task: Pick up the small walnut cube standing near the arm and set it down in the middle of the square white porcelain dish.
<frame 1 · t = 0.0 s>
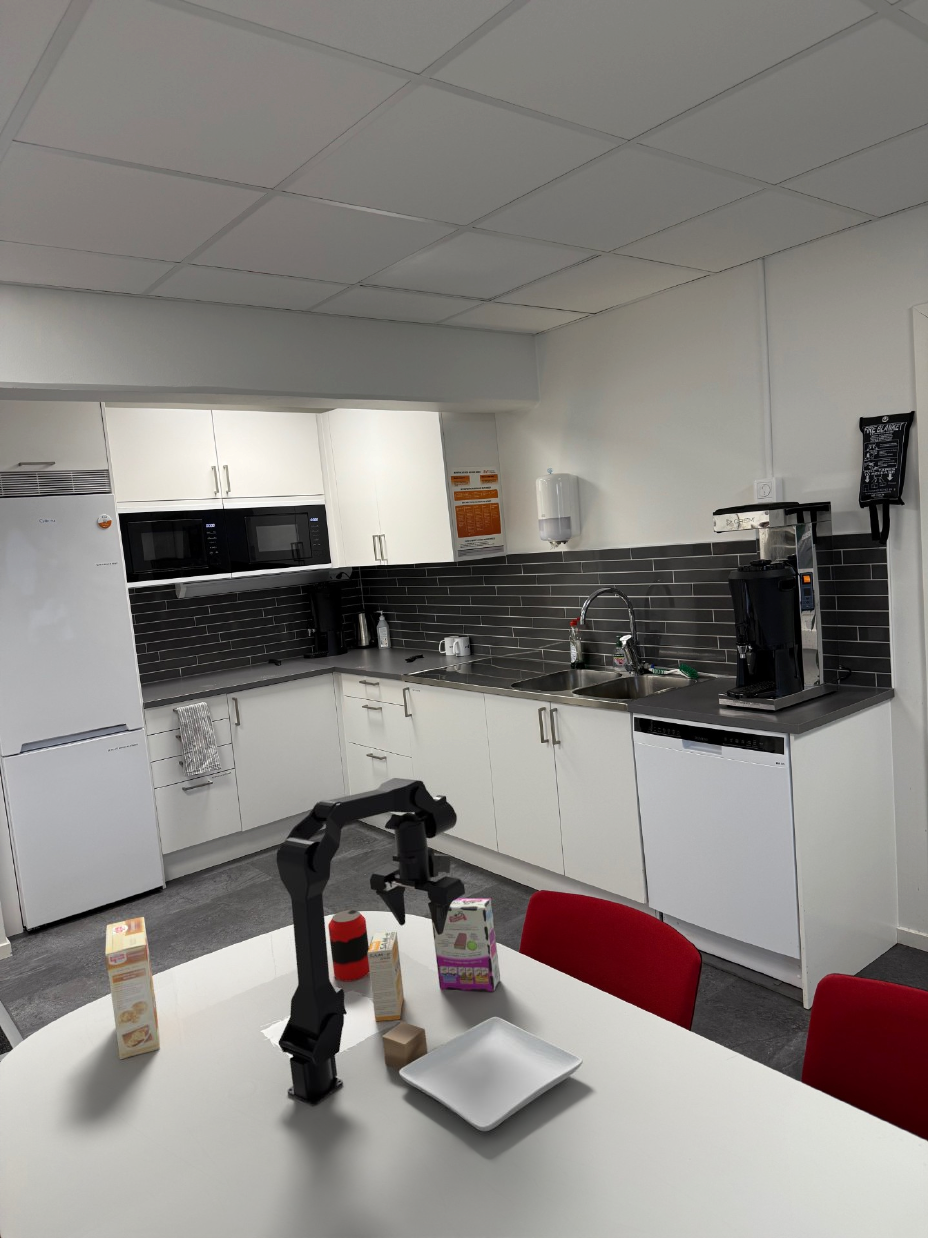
hand: (421, 929, 159), 15 cm above the table, tool pointing down, fingers open, 9 cm apart
soda can: (353, 973, 176), on the table
supplement box: (390, 1010, 160), on the table
salad plate: (491, 1086, 135), on the table
walnut cube: (406, 1061, 143), on the table
coffeecake box: (139, 1036, 161), on the table
candy bar box: (470, 986, 166), on the table
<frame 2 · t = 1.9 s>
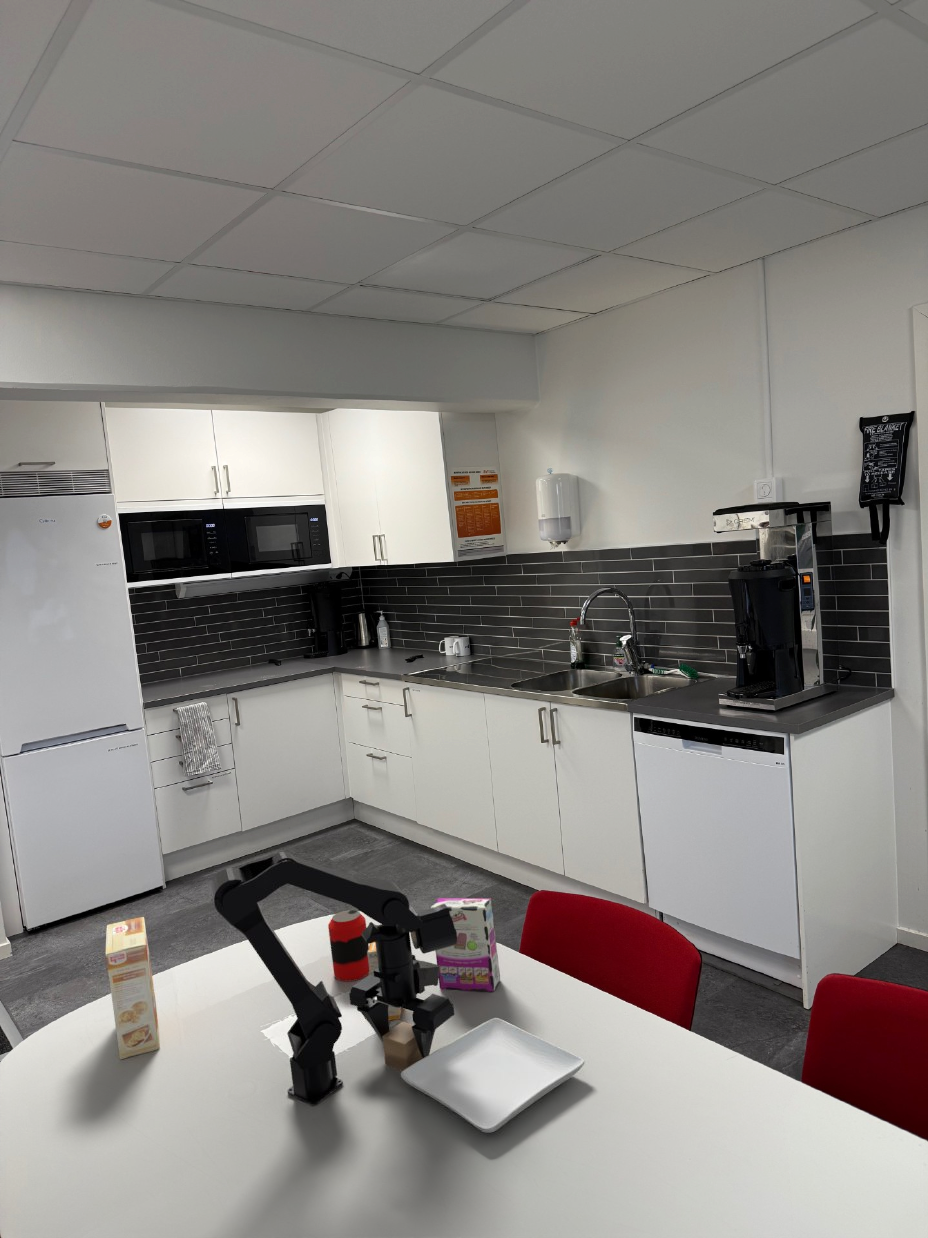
hand: (406, 1050, 143), 2 cm above the table, tool pointing down, fingers open, 8 cm apart
salad plate: (493, 1087, 134), on the table, touching gripper
everything else where it was.
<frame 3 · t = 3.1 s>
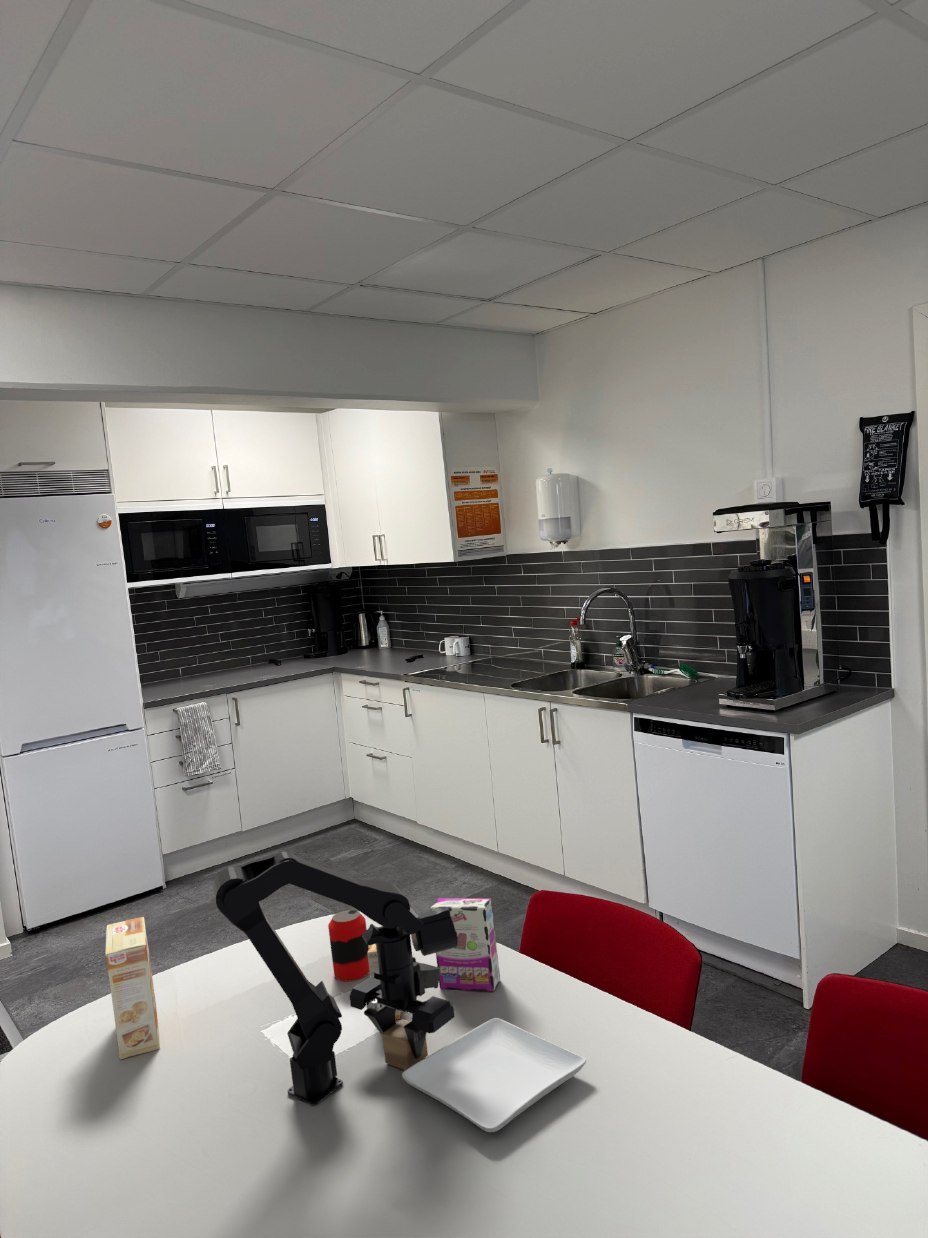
hand: (406, 1053, 143), 1 cm above the table, tool pointing down, fingers closed on walnut cube, 5 cm apart
salad plate: (495, 1087, 134), on the table
walnut cube: (406, 1059, 143), on the table, touching gripper
everything else where it was.
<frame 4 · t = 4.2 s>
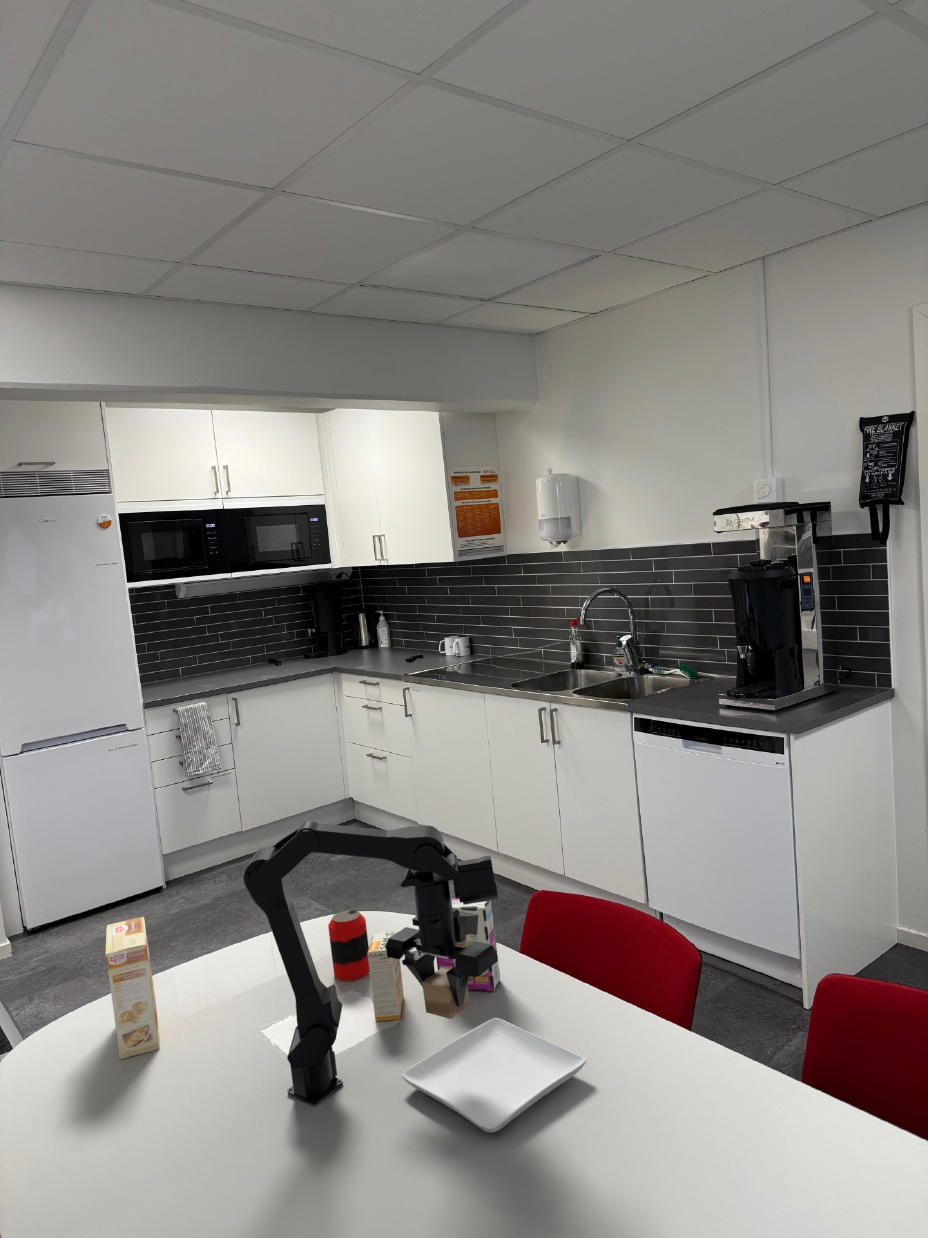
hand: (447, 1002, 138), 12 cm above the table, tool pointing down, fingers closed on walnut cube, 5 cm apart
walnut cube: (447, 1008, 138), point 11 cm above the table, touching gripper
everything else where it was.
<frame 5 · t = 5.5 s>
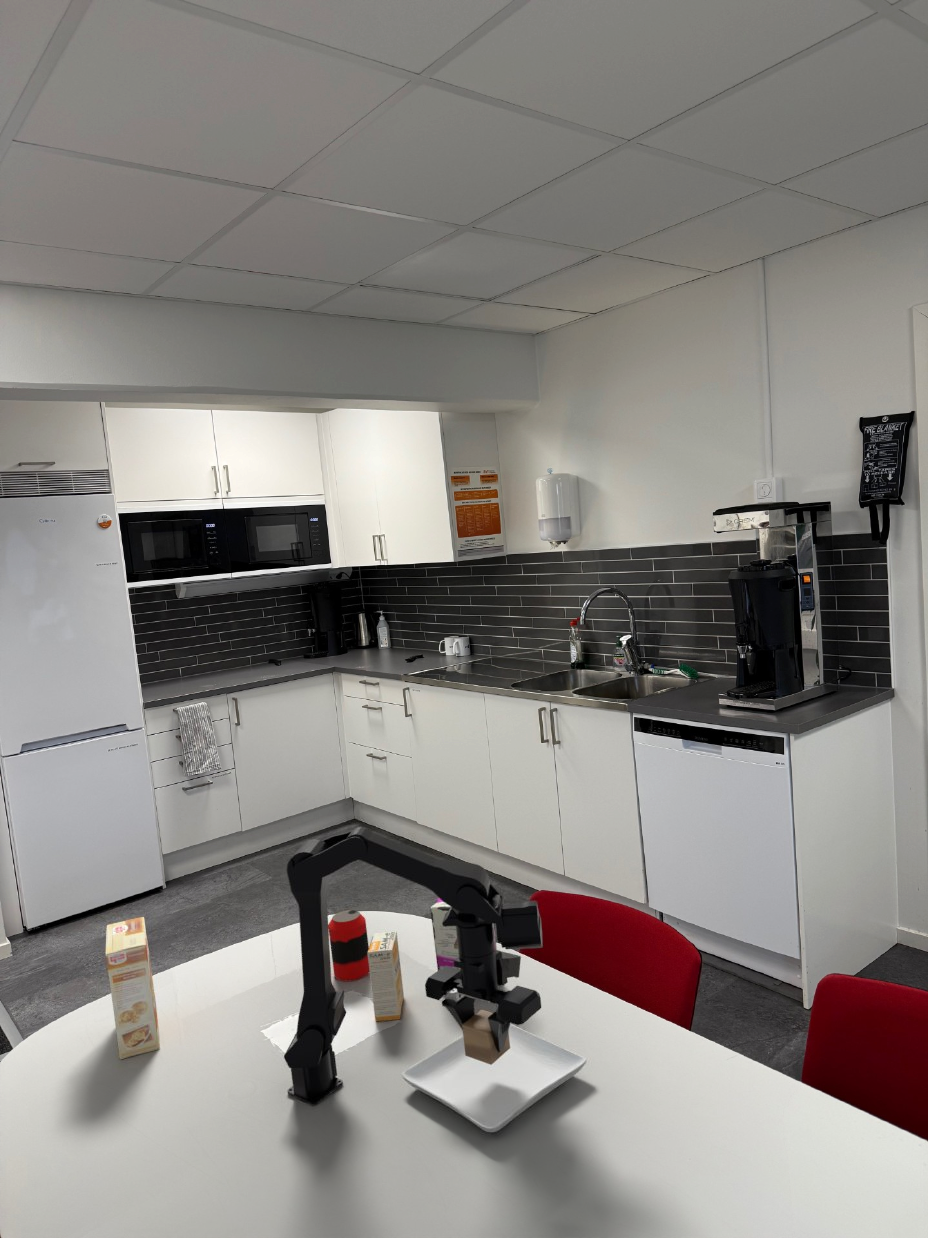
hand: (486, 1046, 134), 6 cm above the table, tool pointing down, fingers closed on walnut cube, 5 cm apart
walnut cube: (487, 1052, 134), point 5 cm above the table, touching gripper
everything else where it was.
when the fingers open (4 cm above the table, at t = 6.2 s): walnut cube stays where it is, resting on salad plate.
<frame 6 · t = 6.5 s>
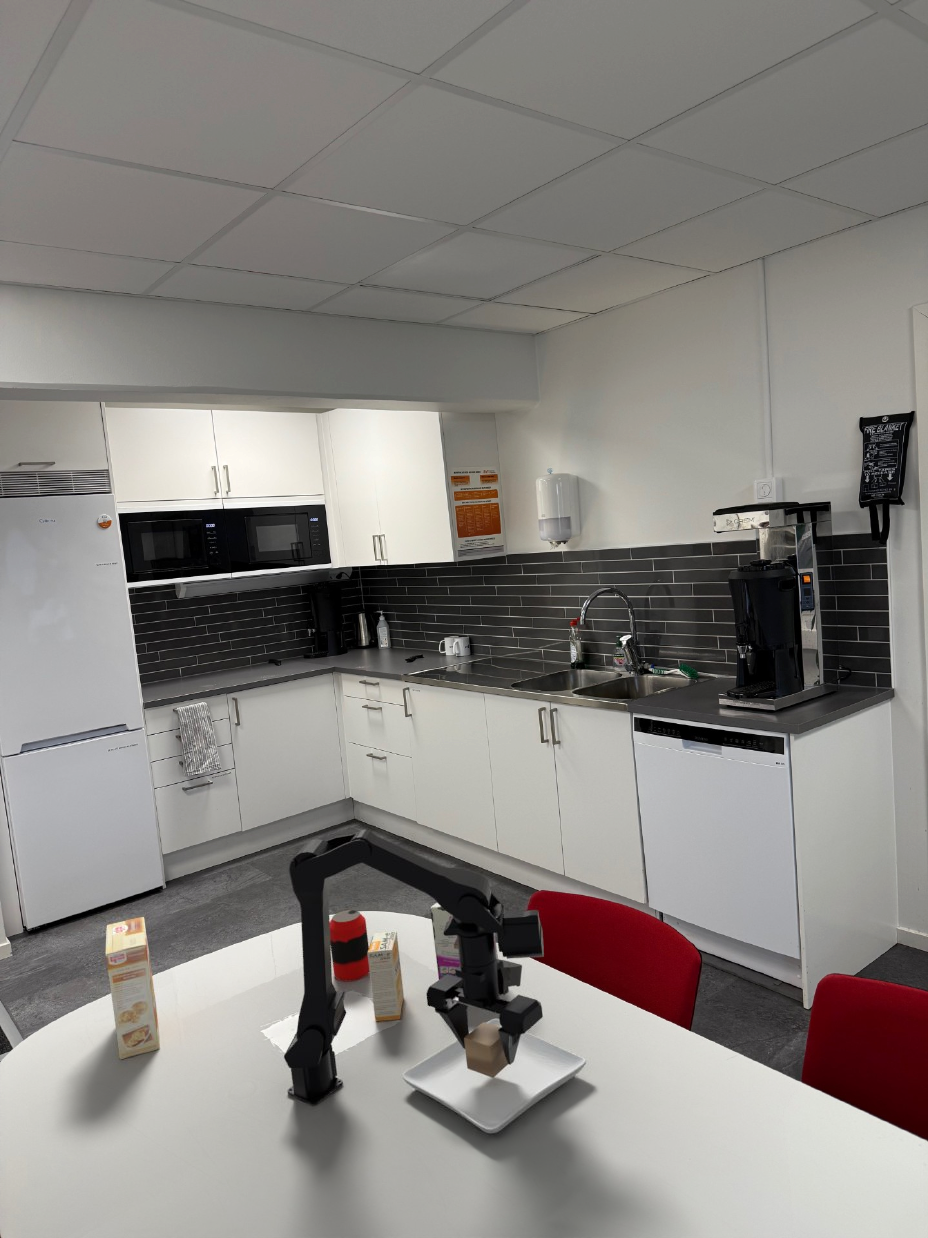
hand: (488, 1055, 134), 4 cm above the table, tool pointing down, fingers open, 8 cm apart
salad plate: (495, 1088, 134), on the table, touching walnut cube
walnut cube: (489, 1064, 134), point 3 cm above the table, touching salad plate
everything else where it was.
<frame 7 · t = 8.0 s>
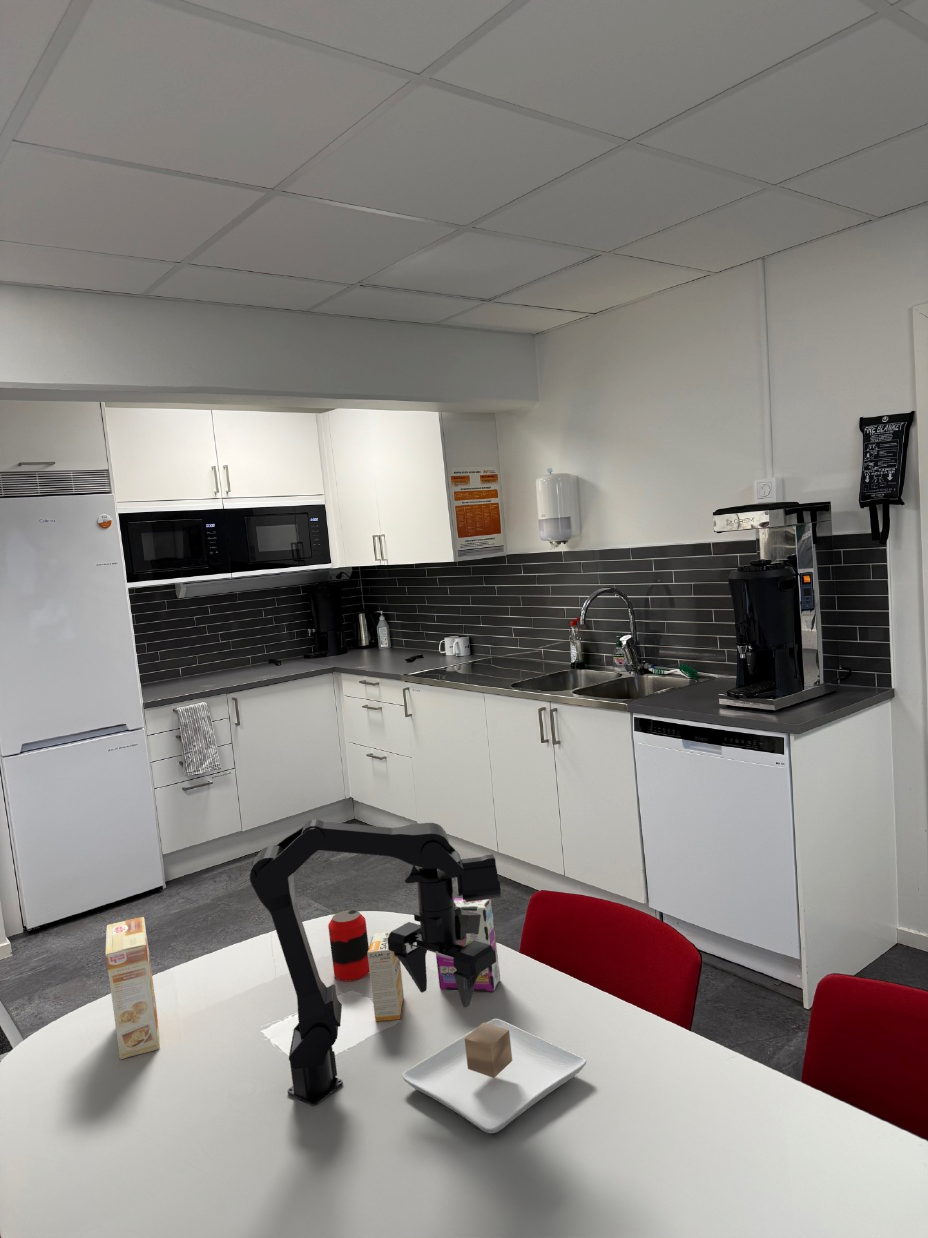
hand: (444, 998, 139), 12 cm above the table, tool pointing down, fingers open, 9 cm apart
nothing on the table moved.
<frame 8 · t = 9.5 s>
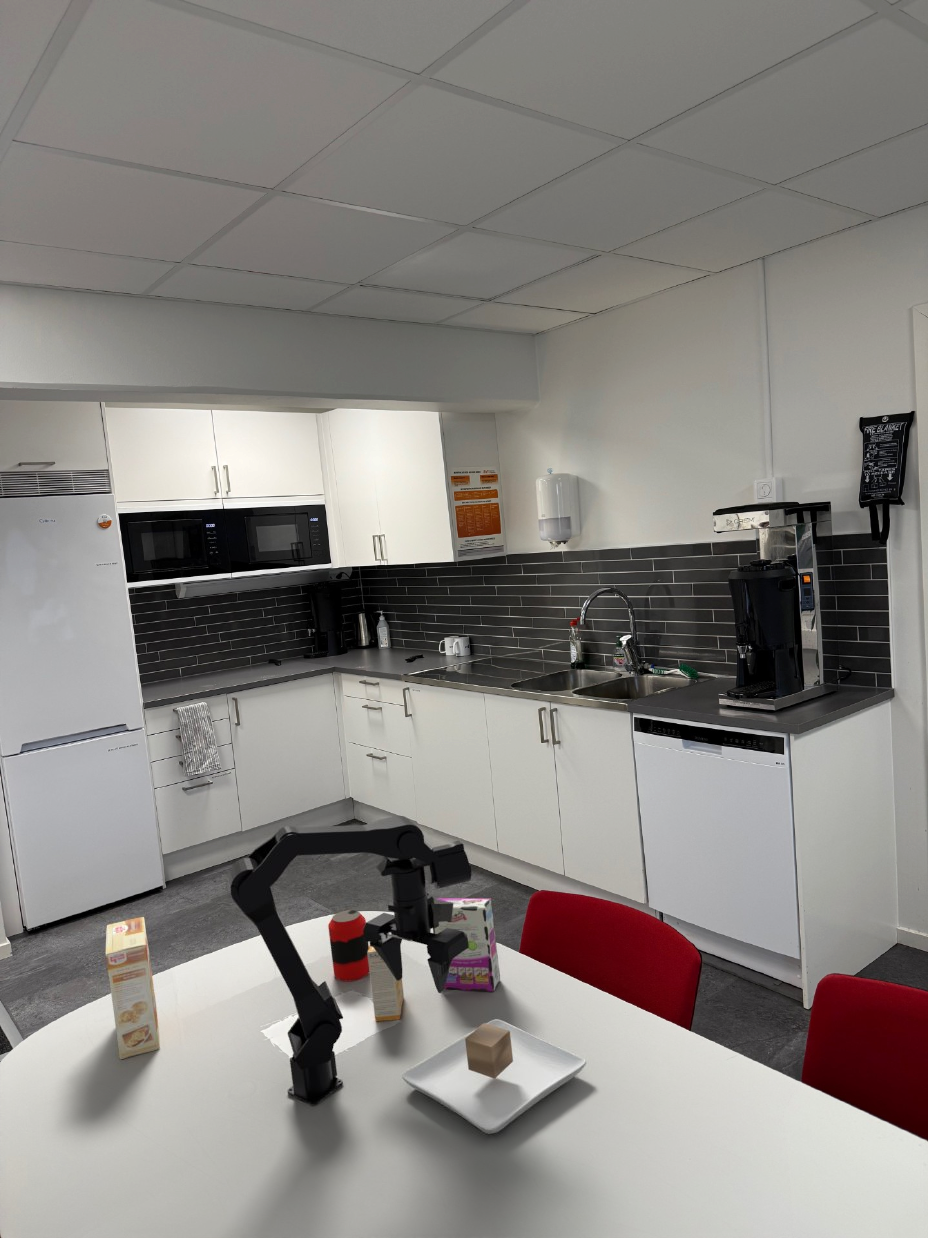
hand: (420, 985, 143), 12 cm above the table, tool pointing down, fingers open, 9 cm apart
nothing on the table moved.
at the end: walnut cube inside the target area in the salad plate (0.5 cm from its centre), point 3.7 cm above the salad plate's base; walnut cube tilted 0°; the gripper is holding nothing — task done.
